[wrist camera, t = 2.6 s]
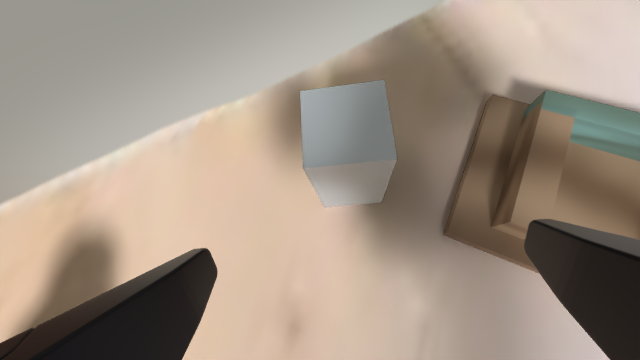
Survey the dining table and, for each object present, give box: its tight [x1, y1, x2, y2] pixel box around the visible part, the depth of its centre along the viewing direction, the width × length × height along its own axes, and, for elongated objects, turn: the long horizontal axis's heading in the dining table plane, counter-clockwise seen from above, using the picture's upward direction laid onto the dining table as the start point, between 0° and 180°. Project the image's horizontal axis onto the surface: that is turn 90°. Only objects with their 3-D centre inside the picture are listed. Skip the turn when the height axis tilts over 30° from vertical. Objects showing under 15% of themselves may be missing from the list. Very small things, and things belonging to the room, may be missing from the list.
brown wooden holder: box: [443, 90, 640, 273], centre depth 17 cm, size 12×16×4 cm
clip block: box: [300, 80, 397, 208], centre depth 18 cm, size 4×4×9 cm
